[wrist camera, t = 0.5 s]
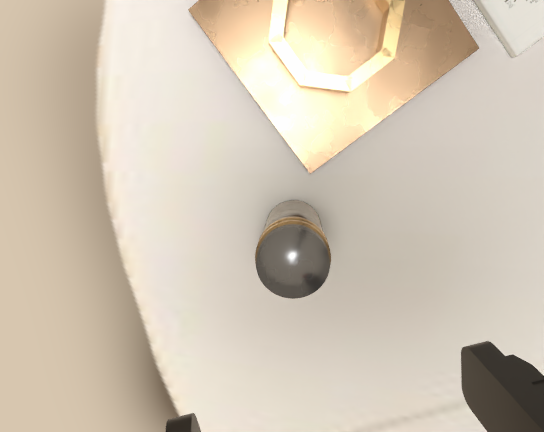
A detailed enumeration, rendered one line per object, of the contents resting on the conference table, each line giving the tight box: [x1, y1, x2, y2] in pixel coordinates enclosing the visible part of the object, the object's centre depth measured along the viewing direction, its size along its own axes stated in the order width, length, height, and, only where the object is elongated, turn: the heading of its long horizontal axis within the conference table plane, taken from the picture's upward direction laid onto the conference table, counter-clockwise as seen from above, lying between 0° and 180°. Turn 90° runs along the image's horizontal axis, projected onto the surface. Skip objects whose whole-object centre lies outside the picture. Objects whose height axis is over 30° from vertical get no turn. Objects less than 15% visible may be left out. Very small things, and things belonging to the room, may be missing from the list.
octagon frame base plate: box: [189, 0, 479, 174], centre depth 32 cm, size 16×16×4 cm
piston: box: [255, 200, 331, 298], centre depth 33 cm, size 5×5×10 cm
